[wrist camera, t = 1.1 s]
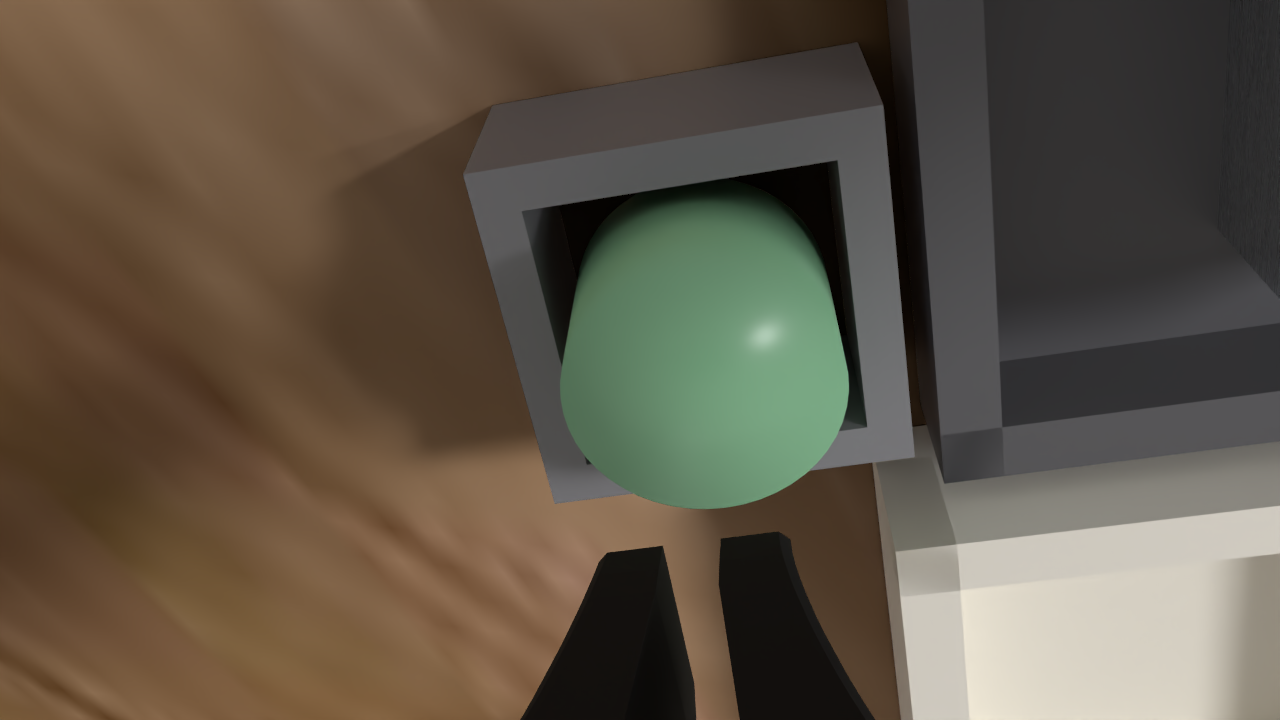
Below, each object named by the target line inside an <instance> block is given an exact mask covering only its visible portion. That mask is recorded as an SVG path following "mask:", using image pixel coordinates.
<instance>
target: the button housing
mask: <svg viewBox="0 0 1280 720" xmlns="http://www.w3.org/2000/svg"><path fill="white" fill-rule="evenodd" d="M823 162H827V170H828V178H829V187H830V195H831V204H832V212H833V221H834V230H835V238H836V247H837V255H838V264H839V272H840V281H841V290H842V298H843V307H844V315H845V324H846V332H847V335H843V336H840V337H841V341H842V346H843V351H844V355H845V360H846V365H847V370H848V379H849V394H848V403H847V408H846V412H845V416H844V419H843V423H842V425H841V427H840V429H839V432H838V434H837V436H836V438H835V439H834V441H833V443H832V444H831V446H830V447H829V449H828V451H827V452H826V453H825V454H824V455H823V457H822V458H821V459H820V460H819V461H818V463H817V464H816V465H815V466H813V467H812V468H811V469H810V470H809V471H811V470H819V469H826V468H834V467H842V466H850V465H857V464H865V463H873V462H880V461H888V460H896V459H904V458H911V457H915V453H914V442H913V431H912V419H911V408H910V397H909V386H908V375H907V364H906V352H905V341H904V330H903V319H902V308H901V296H900V285H899V274H898V263H897V252H896V241H895V229H894V218H893V207H892V196H891V185H890V174H889V162H888V151H887V140H886V129H885V118H884V107H883V103H882V100H881V98H880V95H879V93H878V91H877V88H876V86H875V83H874V81H873V78H872V76H871V74H870V71H869V69H868V66H867V64H866V61H865V59H864V57H863V54H862V52H861V49H860V47H859V45H858V42H856V43H850V44H845V45H839V46H833V47H827V48H822V49H816V50H810V51H804V52H798V53H793V54H787V55H781V56H775V57H770V58H764V59H758V60H752V61H746V62H741V63H735V64H729V65H723V66H718V67H712V68H706V69H700V70H694V71H689V72H683V73H677V74H671V75H666V76H660V77H654V78H648V79H643V80H637V81H631V82H625V83H619V84H614V85H608V86H602V87H596V88H591V89H585V90H579V91H573V92H567V93H562V94H556V95H550V96H544V97H539V98H533V99H527V100H521V101H515V102H510V103H504V104H498V105H492V108H491V110H490V112H489V115H488V117H487V119H486V122H485V124H484V126H483V129H482V131H481V133H480V136H479V138H478V140H477V143H476V145H475V147H474V150H473V152H472V154H471V157H470V159H469V162H468V164H467V166H466V169H465V171H464V173H463V177H464V180H465V184H466V187H467V191H468V194H469V198H470V202H471V205H472V209H473V212H474V216H475V220H476V223H477V227H478V230H479V234H480V237H481V241H482V245H483V248H484V252H485V255H486V259H487V262H488V266H489V270H490V273H491V277H492V280H493V284H494V288H495V291H496V295H497V298H498V302H499V305H500V309H501V313H502V316H503V320H504V323H505V327H506V331H507V334H508V338H509V341H510V345H511V348H512V352H513V356H514V359H515V363H516V366H517V370H518V374H519V377H520V381H521V384H522V388H523V391H524V395H525V399H526V402H527V406H528V409H529V413H530V416H531V420H532V424H533V427H534V431H535V434H536V438H537V442H538V445H539V449H540V452H541V456H542V459H543V463H544V467H545V470H546V474H547V477H548V481H549V485H550V488H551V492H552V495H553V499H554V502H555V504H556V503H564V502H572V501H579V500H587V499H595V498H603V497H610V496H618V495H626V494H634V493H632V492H630V491H628V490H626V489H624V488H622V487H620V486H619V485H617V484H616V483H614V482H613V481H611V480H610V479H608V478H607V477H606V476H605V475H604V474H602V473H601V472H600V471H599V470H598V469H596V468H595V466H594V465H593V464H592V463H591V462H590V461H589V460H588V459H587V458H586V457H585V455H584V454H583V453H582V451H581V450H580V448H579V447H578V446H577V444H576V443H575V441H574V439H573V437H572V435H571V433H570V431H569V429H568V426H567V423H566V420H565V417H564V414H563V409H562V404H561V398H560V379H561V371H562V364H563V358H564V353H565V347H566V341H567V336H568V330H569V324H570V319H571V313H572V307H573V302H574V296H575V291H576V285H577V278H576V273H575V269H574V265H573V261H572V257H571V253H570V248H569V244H568V240H567V236H566V232H565V227H564V223H563V219H562V215H561V211H560V207H559V205H563V204H569V203H575V202H582V201H588V200H594V199H600V198H606V197H613V196H619V195H625V194H631V193H637V192H644V191H650V190H656V189H662V188H668V187H675V186H681V185H687V184H693V183H699V182H706V181H712V180H718V179H724V178H730V177H737V176H743V175H749V174H755V173H761V172H768V171H774V170H780V169H786V168H792V167H799V166H805V165H811V164H817V163H823Z"/></svg>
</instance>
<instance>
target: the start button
mask: <svg viewBox="0 0 1280 720" xmlns="http://www.w3.org/2000/svg"><path fill="white" fill-rule="evenodd" d="M848 394H849V379H848V370H847V365H846V360H845V355H844V351H843V346H842V341H841V337H840V332H839V327H838V323H837V318H836V313H835V309H834V304H833V299H832V295H831V290H830V285H829V281H828V276H827V271H826V267H825V262H824V259H823V256H822V253H821V250H820V248H819V245H818V243H817V242H816V240H815V238H814V236H813V234H812V233H811V231H810V230H809V228H808V227H807V226H806V224H805V223H804V222H803V220H802V219H801V218H800V217H799V216H798V215H797V214H796V213H795V212H794V211H793V210H792V209H791V208H789V207H788V206H787V205H785V204H784V203H783V202H782V201H780V200H779V199H777V198H776V197H774V196H772V195H770V194H769V193H767V192H765V191H763V190H761V189H759V188H756V187H754V186H751V185H749V184H745V183H742V182H738V181H735V180H730V179H718V180H712V181H706V182H699V183H693V184H687V185H681V186H675V187H668V188H662V189H656V190H650V191H644V192H640V193H638V194H636V195H634V196H632V197H631V198H630V199H628V200H627V201H625V202H624V203H622V204H621V205H619V206H618V207H617V208H616V209H615V210H614V211H613V212H612V213H611V214H609V215H608V216H607V218H606V219H605V220H604V221H603V222H602V223H601V225H600V226H599V227H598V228H597V230H596V231H595V233H594V235H593V236H592V238H591V239H590V241H589V243H588V245H587V248H586V250H585V252H584V254H583V258H582V261H581V265H580V268H579V274H578V279H577V285H576V291H575V296H574V302H573V307H572V313H571V319H570V324H569V330H568V336H567V341H566V347H565V353H564V358H563V364H562V371H561V379H560V398H561V404H562V409H563V414H564V417H565V420H566V423H567V426H568V429H569V431H570V433H571V435H572V437H573V439H574V441H575V443H576V444H577V446H578V447H579V448H580V450H581V451H582V453H583V454H584V455H585V457H586V458H587V459H588V460H589V461H590V462H591V463H592V464H593V465H594V466H595V468H596V469H598V470H599V471H600V472H601V473H602V474H604V475H605V476H606V477H607V478H608V479H610V480H611V481H613V482H614V483H616V484H617V485H619V486H620V487H622V488H624V489H626V490H628V491H630V492H632V493H634V494H636V495H638V496H640V497H643V498H646V499H648V500H651V501H654V502H657V503H661V504H666V505H670V506H675V507H682V508H690V509H715V508H727V507H732V506H738V505H743V504H747V503H750V502H753V501H757V500H760V499H762V498H765V497H767V496H770V495H772V494H774V493H777V492H778V491H780V490H782V489H784V488H786V487H787V486H789V485H791V484H792V483H794V482H795V481H797V480H798V479H799V478H801V477H802V476H803V475H805V474H806V473H807V472H808V471H809V470H810V469H811V468H812V467H813V466H815V465H816V464H817V463H818V461H819V460H820V459H821V458H822V457H823V455H824V454H825V453H826V452H827V451H828V449H829V447H830V446H831V444H832V443H833V441H834V439H835V438H836V436H837V434H838V432H839V429H840V427H841V425H842V423H843V419H844V416H845V412H846V408H847V403H848Z"/></svg>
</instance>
